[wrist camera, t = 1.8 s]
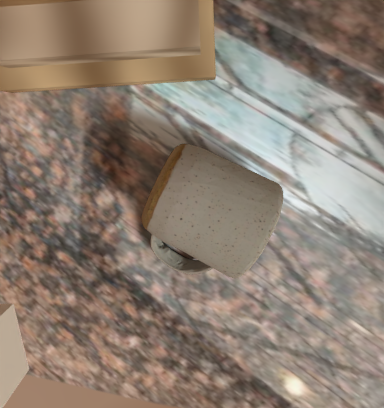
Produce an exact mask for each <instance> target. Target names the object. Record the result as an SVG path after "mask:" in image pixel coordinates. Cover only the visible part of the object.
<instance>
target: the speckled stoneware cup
mask: <svg viewBox="0 0 384 408" xmlns="http://www.w3.org/2000/svg"><path fill="white" fill-rule="evenodd" d="M282 203H283V190H282V187H281V186H280V185H279V184H278V183H276V182H274V181H272V180H269V179H267V178H265V177H263V176H261V175H259V174H257V173H255V172H252V171H250V170H248V169H246V168H244V167H242V166H240V165H237V164H235V163H233V162H231V161H229V160H227V159H224V158H222V157H220V156H218V155H216V154H214V153H212V152H210V151H208V150H206V149H204V148H200V147H197V146H194V145H191V144H181V145H179V146H177V147H176V148H175V149H174V150H173V151H172V153H171V154H170V156H169V158H168V159H167V161H166V163H165V165H164V167H163V168H162V170H161V172H160V174H159V176H158V178H157V180H156V182H155V185H154V186H153V188H152V190H151V193H150V195H149V197H148V200H147V202H146V205H145V207H144V210H143V213H142V217H141V220H142V225H143V226H144V228H145V229H146V230H148V231H149V232H150V233H151V239H150V241H151V248H152V250H153V252H154V254H155V255H156V256H157V258H158V259H159V260H160V261H162V262H163V263H164V264H165V265H167V266H168V267H170V268H172V269H174V270H176V271H179V272H182V273H186V274H200V273H204V272H207V271H209V270H211V269H212V268H214V269H216V270H218V271H220V272H221V273H223V274H225V275H227V276H229V277H232V278H238V277H240V276H242V275H243V274H244V273H245V272H246V271H248V270H249V269H250V268H251V267H252V265H253V264H254V263H255V262H256V260H257V259H258V257H259V256H260V255H261V253H262V252H263V250H264V248H265V246H266V244H267V242H268V240H269V238H270V237H271V235H272V233H273V231H274V229H275V226H276V224H277V222H278V219H279V216H280V213H281V207H282ZM162 241H163V242H165V243H167V244H169V245H171V246H173V247H175V248H177V249H179V250H182V251H183V252H185V253H187V254H189V255H190V256H192V257H194V258H196V259H198V260H191V259H187V258H184V257H182V256H181V255H179V254H177V253H176V252H174V251H172V250H171V249H170V248H169V247H167V246H165V245H164V244H163V242H162Z"/></svg>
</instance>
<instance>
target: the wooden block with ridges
mask: <svg viewBox="0 0 384 408" xmlns="http://www.w3.org/2000/svg"><path fill="white" fill-rule="evenodd" d="M215 77H216V72H215V41H214V11H213V0H0V91H5V92H12V93H14V92H30V91H45V90H61V89H76V88H91V87H107V86H122V85H138V84H153V83H169V82H184V81H199V80H215Z"/></svg>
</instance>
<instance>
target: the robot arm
mask: <svg viewBox="0 0 384 408" xmlns="http://www.w3.org/2000/svg"><path fill="white" fill-rule="evenodd" d="M28 370H29V367H28V362H27V358H26V354H25V350H24V346H23V342H22V338H21V333H20V329H19V325H18V321H17V317H16V313H15V309H14V304H0V408H3V406H4V405H5V404H6V402H7V400H8V399H9V398H10V396H11V395H12V393H13V392H14V391H15V389H16V388H17V386H18V385H19V383H20V382H21V380H22V379H23V377H24V376H25V375H26V373H27V372H28Z"/></svg>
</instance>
